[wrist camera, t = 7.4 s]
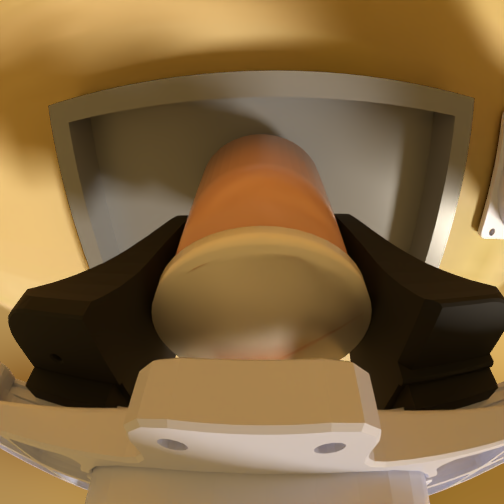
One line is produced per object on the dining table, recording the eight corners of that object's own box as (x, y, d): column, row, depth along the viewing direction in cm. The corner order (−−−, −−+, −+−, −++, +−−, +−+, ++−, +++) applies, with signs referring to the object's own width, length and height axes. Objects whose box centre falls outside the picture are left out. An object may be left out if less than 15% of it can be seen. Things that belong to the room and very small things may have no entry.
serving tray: (445, 90, 11) (474, 98, 9) (407, 288, 18) (420, 315, 16) (77, 97, 12) (48, 105, 10) (122, 289, 19) (109, 317, 16)
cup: (330, 130, 11) (398, 243, 6) (319, 241, 14) (346, 377, 9) (189, 132, 11) (122, 246, 6) (204, 243, 15) (177, 378, 9)
